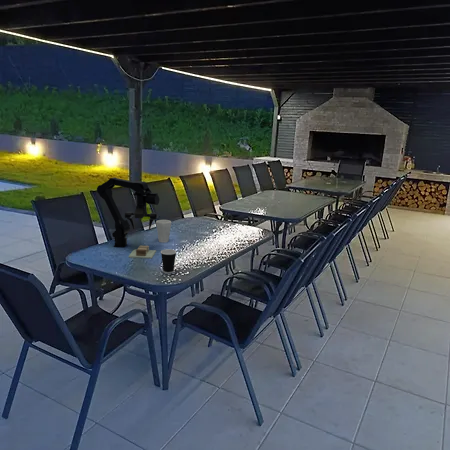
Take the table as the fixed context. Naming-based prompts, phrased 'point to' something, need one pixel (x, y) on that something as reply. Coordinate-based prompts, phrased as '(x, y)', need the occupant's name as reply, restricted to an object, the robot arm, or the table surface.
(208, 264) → the table surface
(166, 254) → the dixie cup
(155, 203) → the robot arm
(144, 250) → the two-tone brown block
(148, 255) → the mat
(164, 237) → the foam cup
